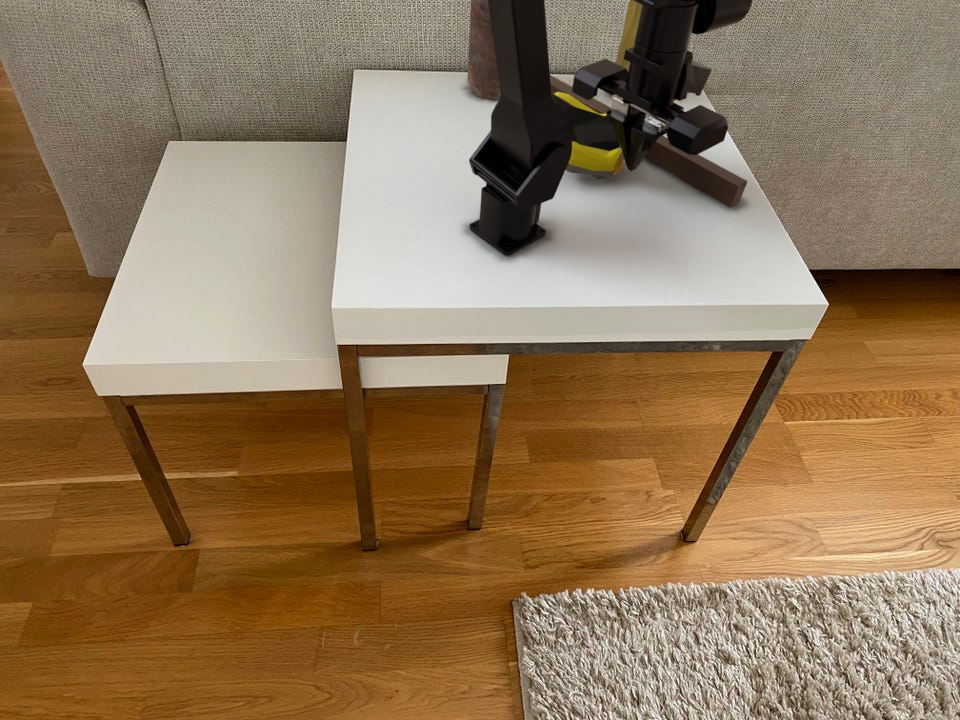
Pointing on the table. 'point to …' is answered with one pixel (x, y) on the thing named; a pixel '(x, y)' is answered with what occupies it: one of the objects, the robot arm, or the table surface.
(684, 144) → the robot arm
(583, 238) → the table surface
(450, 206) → the table surface
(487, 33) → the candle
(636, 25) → the vase
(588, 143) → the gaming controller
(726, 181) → the back rail
